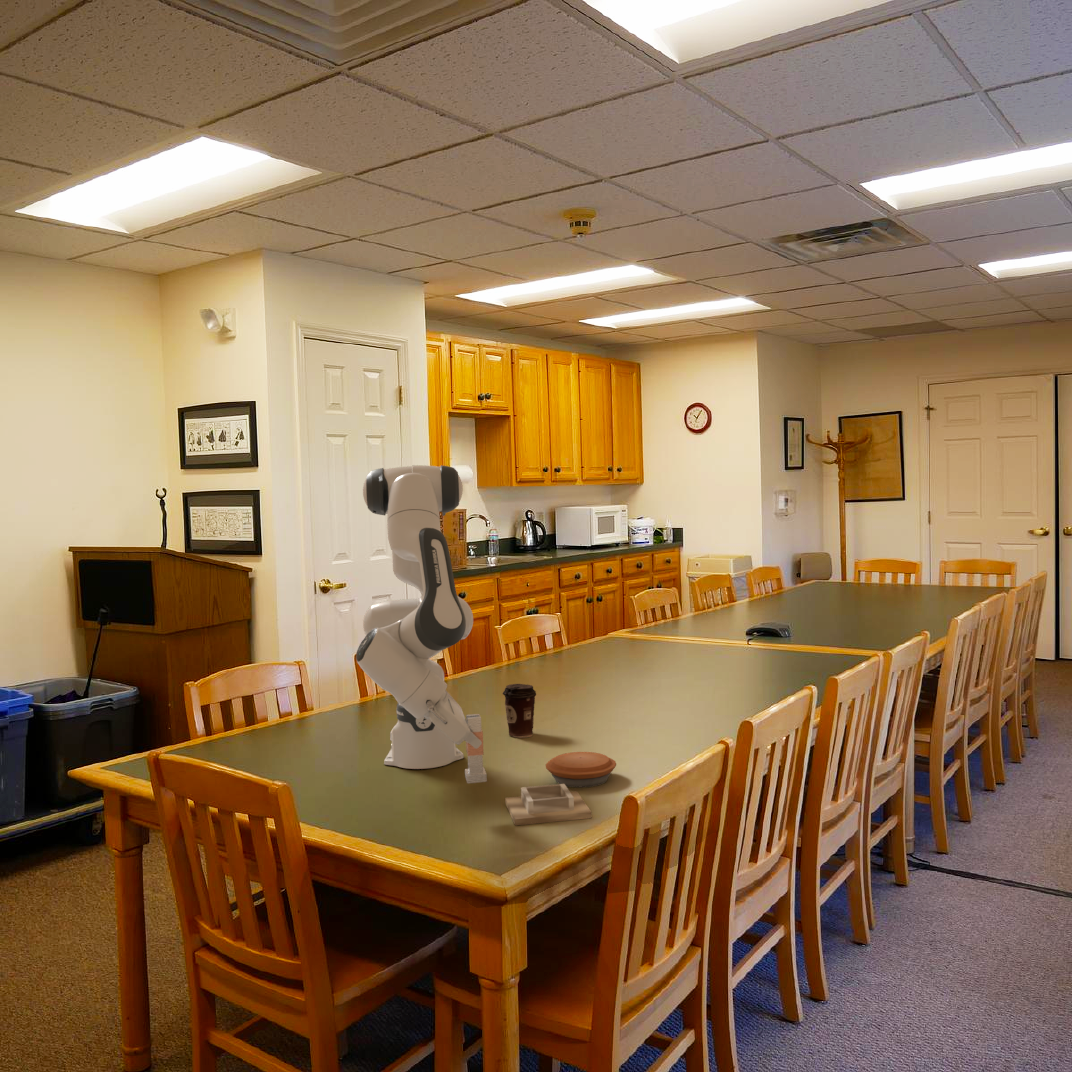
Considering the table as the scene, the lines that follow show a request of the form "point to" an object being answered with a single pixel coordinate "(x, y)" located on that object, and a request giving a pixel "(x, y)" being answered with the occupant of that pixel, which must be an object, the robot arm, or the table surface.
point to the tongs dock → (546, 805)
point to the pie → (581, 768)
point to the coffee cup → (520, 709)
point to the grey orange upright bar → (475, 752)
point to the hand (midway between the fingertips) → (477, 741)
